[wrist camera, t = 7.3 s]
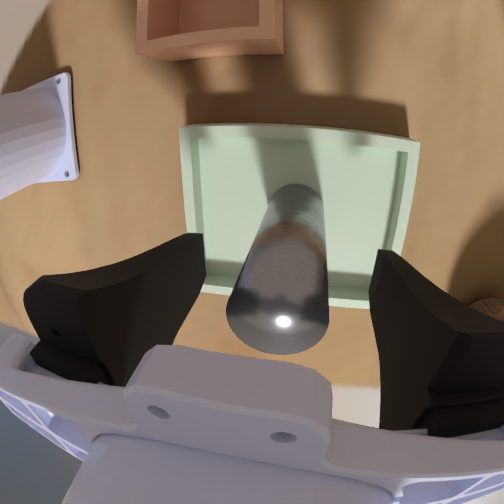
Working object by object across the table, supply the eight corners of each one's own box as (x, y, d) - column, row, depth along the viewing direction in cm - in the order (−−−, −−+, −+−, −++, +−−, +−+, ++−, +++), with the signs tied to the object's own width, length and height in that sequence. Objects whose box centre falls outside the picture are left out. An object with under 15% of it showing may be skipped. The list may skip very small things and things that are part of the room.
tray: (202, 275, 20) (193, 290, 19) (192, 124, 16) (179, 127, 14) (380, 293, 18) (385, 310, 17) (409, 138, 14) (420, 142, 12)
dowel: (270, 234, 17) (233, 351, 10) (267, 184, 16) (219, 274, 8) (323, 235, 17) (325, 356, 9) (323, 183, 15) (332, 276, 7)
